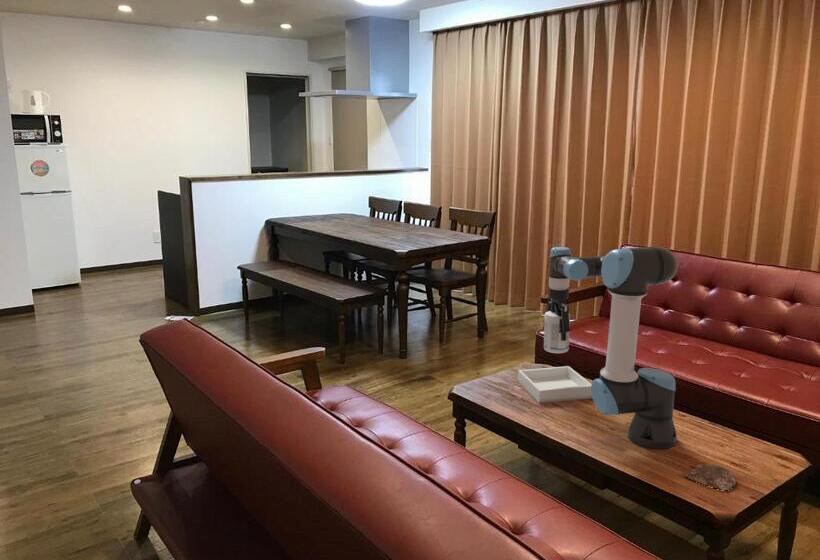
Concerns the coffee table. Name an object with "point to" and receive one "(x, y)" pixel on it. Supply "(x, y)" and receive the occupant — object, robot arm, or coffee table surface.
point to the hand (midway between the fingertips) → (556, 344)
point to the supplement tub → (553, 333)
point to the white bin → (554, 384)
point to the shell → (713, 477)
